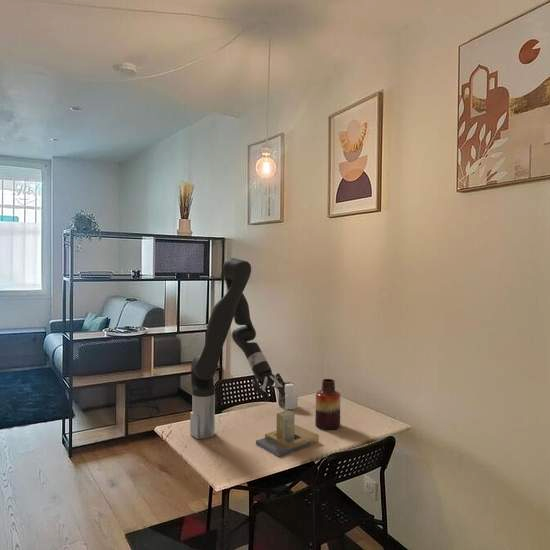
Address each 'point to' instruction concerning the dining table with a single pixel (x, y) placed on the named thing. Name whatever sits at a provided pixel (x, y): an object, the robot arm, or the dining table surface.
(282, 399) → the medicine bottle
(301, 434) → the tan flat frame
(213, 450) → the dining table surface
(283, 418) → the skincare box
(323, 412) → the vase
